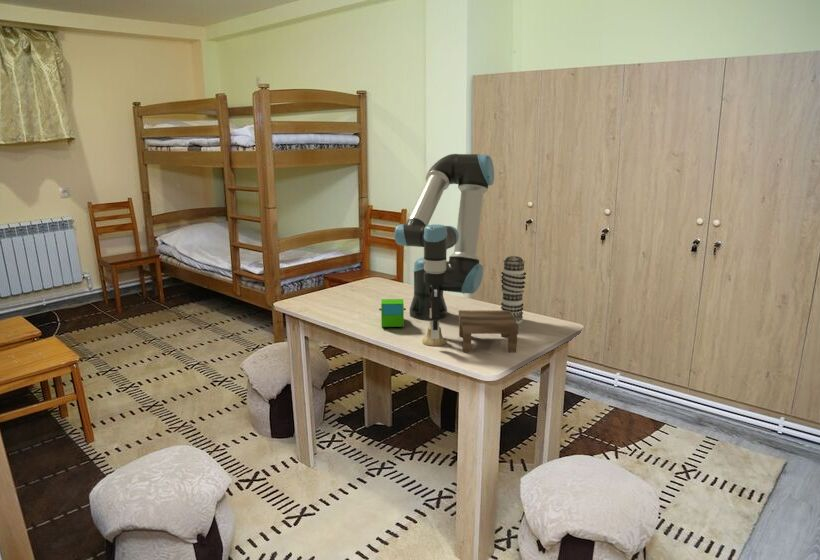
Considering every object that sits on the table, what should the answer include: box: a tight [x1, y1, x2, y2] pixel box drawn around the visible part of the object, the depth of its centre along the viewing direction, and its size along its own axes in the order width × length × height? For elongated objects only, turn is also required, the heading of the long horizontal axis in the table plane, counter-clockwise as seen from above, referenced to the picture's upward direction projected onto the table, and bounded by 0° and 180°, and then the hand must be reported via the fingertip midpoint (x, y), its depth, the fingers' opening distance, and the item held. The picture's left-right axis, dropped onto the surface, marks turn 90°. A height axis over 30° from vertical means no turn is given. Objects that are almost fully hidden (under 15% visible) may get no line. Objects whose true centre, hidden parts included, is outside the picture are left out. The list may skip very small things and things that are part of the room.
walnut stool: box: [458, 309, 519, 353], centre depth 194 cm, size 18×18×9 cm
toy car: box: [378, 298, 407, 329], centre depth 214 cm, size 10×13×10 cm
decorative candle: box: [500, 255, 527, 325], centre depth 216 cm, size 9×9×25 cm
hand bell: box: [421, 305, 447, 347], centre depth 194 cm, size 8×8×16 cm
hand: (434, 332), depth 195 cm, fingers open, 12 cm apart
